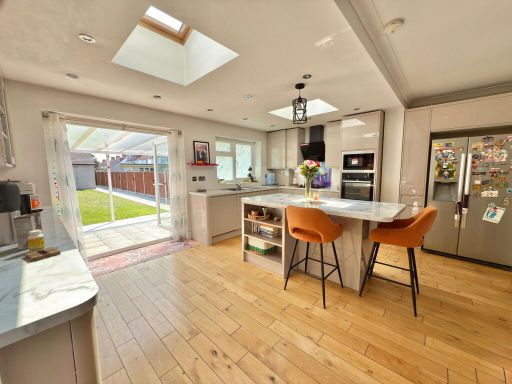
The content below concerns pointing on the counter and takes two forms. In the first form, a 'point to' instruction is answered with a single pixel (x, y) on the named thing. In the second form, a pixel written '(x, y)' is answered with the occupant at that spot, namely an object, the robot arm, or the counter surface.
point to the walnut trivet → (38, 254)
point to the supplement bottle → (36, 241)
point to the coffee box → (26, 228)
